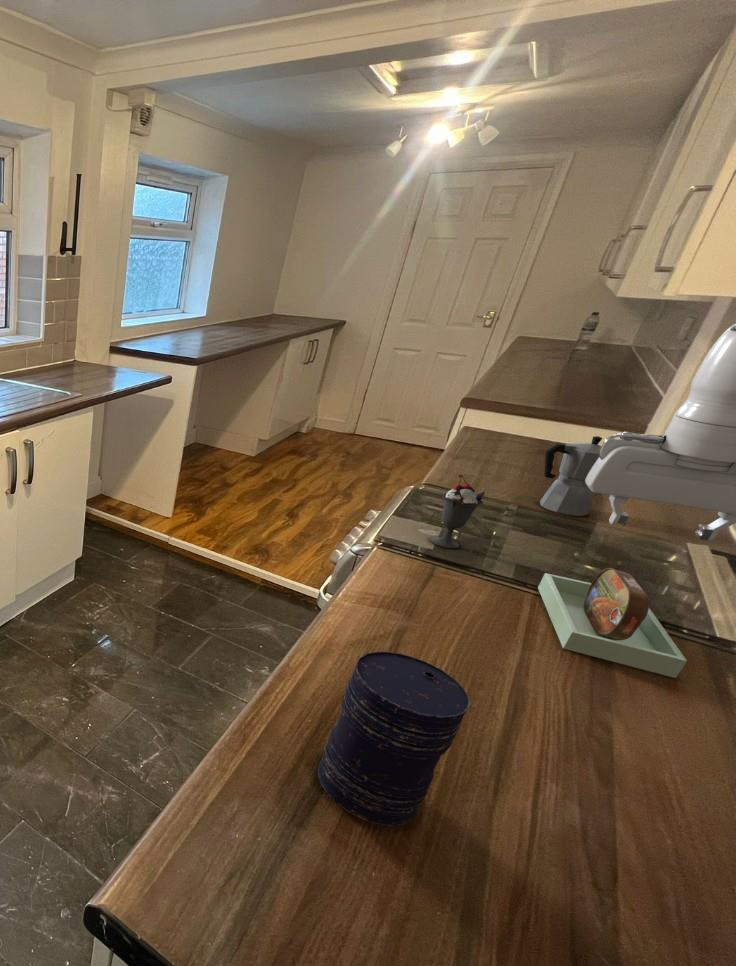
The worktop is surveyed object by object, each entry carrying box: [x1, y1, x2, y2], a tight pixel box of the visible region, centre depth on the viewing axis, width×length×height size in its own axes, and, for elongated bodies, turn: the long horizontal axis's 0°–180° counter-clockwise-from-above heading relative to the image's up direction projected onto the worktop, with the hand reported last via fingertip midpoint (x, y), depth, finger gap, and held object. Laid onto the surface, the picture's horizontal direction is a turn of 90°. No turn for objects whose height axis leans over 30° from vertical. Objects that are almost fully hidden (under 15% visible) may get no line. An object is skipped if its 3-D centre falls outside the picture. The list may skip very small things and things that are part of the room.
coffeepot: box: [539, 435, 603, 517], centre depth 136 cm, size 15×9×18 cm, turn 79°
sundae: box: [430, 474, 486, 550], centre depth 117 cm, size 7×7×15 cm
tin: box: [584, 567, 650, 640], centre depth 92 cm, size 15×3×8 cm, turn 149°
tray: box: [537, 572, 688, 679], centre depth 93 cm, size 13×22×3 cm, turn 149°
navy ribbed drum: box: [317, 651, 470, 827], centre depth 60 cm, size 10×10×15 cm
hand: (658, 531), depth 86 cm, fingers open, 8 cm apart
